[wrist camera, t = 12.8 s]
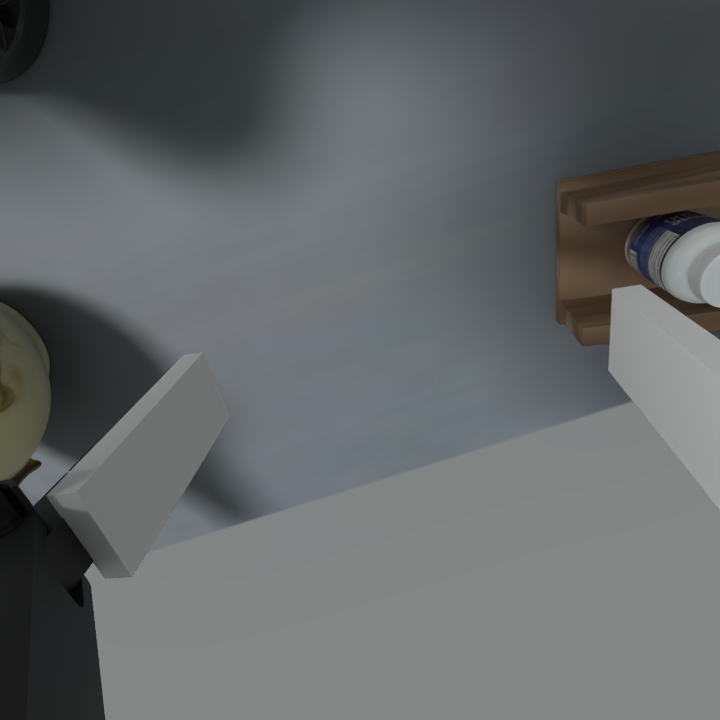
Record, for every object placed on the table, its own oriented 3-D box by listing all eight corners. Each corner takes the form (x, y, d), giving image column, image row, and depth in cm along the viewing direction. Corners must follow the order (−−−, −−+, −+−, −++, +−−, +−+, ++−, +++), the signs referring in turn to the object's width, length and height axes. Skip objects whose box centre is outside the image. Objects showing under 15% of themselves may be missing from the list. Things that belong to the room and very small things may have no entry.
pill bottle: (711, 212, 34) (811, 241, 25) (676, 279, 36) (756, 326, 28) (640, 200, 34) (716, 224, 25) (610, 267, 37) (670, 310, 28)
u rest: (556, 180, 35) (587, 191, 29) (743, 146, 32) (820, 150, 26) (556, 320, 40) (582, 355, 34) (717, 299, 38) (776, 332, 32)
